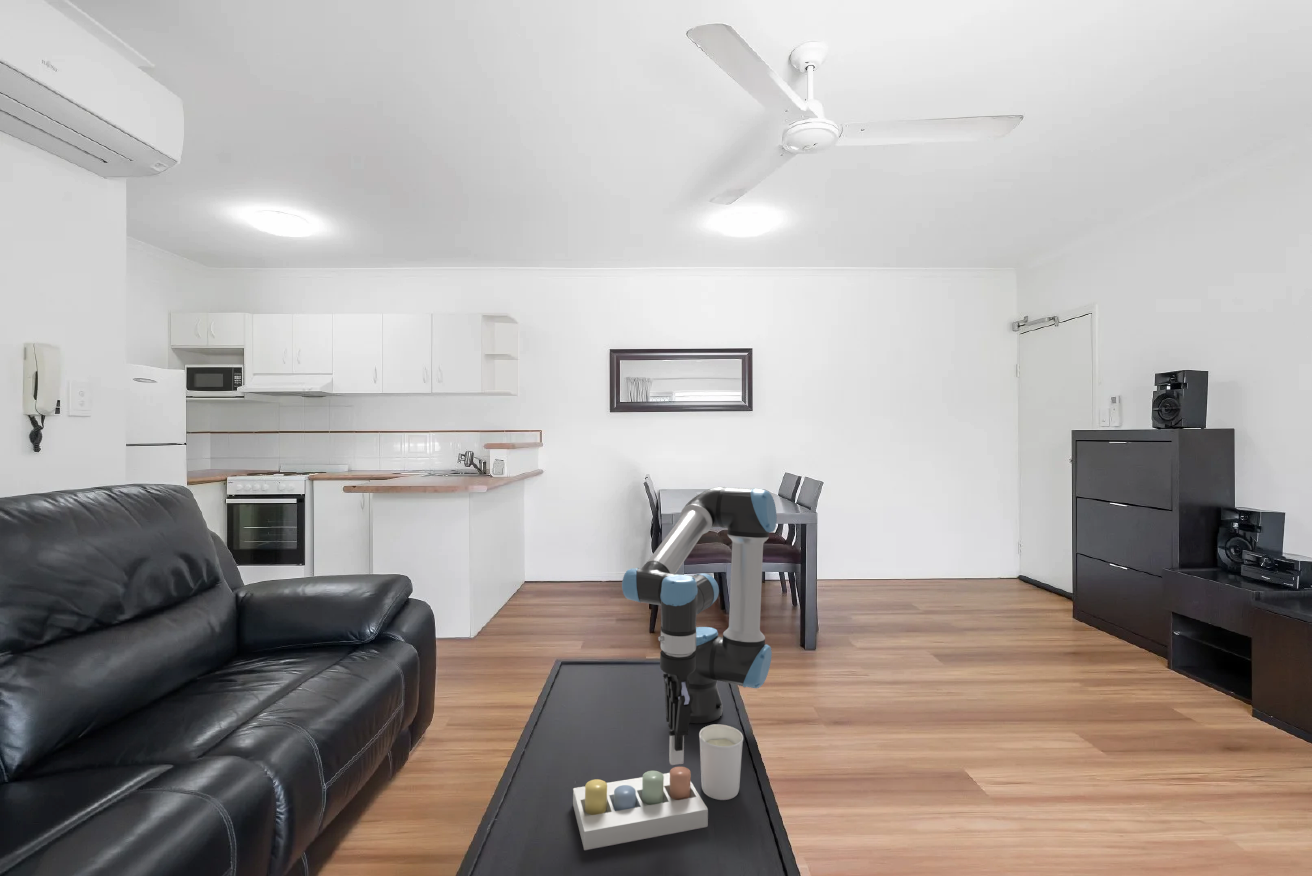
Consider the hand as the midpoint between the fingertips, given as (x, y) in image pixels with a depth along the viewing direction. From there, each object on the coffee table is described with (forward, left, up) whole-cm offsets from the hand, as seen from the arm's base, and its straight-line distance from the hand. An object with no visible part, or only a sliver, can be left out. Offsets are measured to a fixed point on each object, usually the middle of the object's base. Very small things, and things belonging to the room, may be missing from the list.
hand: (676, 762), depth 120 cm
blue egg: (+11, 0, -9) cm, 14 cm away
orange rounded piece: (-1, 0, -7) cm, 7 cm away
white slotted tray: (+8, 0, -10) cm, 13 cm away
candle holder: (-12, -4, -10) cm, 16 cm away
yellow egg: (+17, 0, -7) cm, 18 cm away
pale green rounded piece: (+5, 0, -7) cm, 8 cm away
